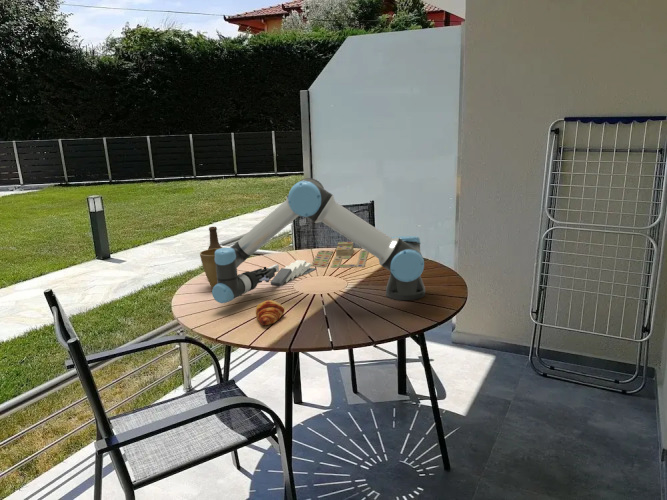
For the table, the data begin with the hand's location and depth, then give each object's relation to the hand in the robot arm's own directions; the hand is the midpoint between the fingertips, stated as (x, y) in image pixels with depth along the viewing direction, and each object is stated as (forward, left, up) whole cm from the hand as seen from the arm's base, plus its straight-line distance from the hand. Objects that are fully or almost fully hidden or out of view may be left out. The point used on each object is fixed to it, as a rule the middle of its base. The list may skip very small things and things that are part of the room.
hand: (277, 267), depth 221 cm
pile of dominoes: (+41, -26, -8) cm, 49 cm away
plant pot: (-1, +25, -8) cm, 26 cm away
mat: (+20, -9, -7) cm, 23 cm away
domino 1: (-2, +1, -7) cm, 7 cm away
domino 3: (+7, -3, -7) cm, 10 cm away
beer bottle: (+13, +30, -8) cm, 33 cm away
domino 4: (+10, -5, -7) cm, 13 cm away
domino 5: (+14, -6, -7) cm, 16 cm away
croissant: (-40, -3, -8) cm, 41 cm away
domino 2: (+2, -1, -7) cm, 7 cm away
